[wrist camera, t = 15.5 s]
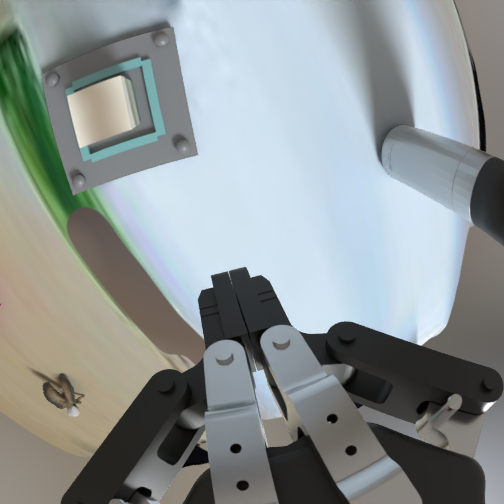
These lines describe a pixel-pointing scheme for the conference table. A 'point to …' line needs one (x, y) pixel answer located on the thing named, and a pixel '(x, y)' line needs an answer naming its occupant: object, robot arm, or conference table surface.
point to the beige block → (104, 110)
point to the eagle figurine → (63, 396)
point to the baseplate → (149, 104)
